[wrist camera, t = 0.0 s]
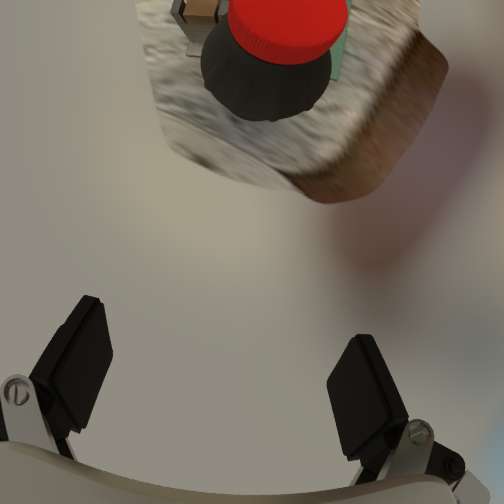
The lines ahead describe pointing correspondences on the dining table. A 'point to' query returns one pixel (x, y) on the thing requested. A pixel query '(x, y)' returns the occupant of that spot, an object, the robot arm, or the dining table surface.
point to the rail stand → (195, 27)
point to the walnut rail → (202, 12)
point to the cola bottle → (272, 55)
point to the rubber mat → (339, 49)
